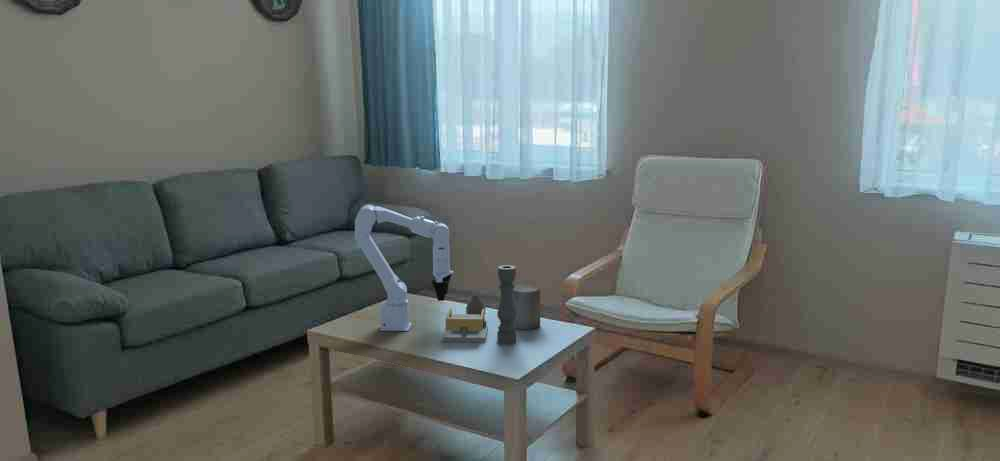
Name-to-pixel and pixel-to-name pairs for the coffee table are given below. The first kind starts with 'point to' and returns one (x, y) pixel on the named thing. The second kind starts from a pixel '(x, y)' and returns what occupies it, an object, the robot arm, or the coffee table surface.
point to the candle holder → (506, 305)
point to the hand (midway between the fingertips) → (442, 297)
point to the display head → (466, 332)
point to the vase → (475, 306)
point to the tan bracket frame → (464, 322)
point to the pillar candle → (527, 306)
